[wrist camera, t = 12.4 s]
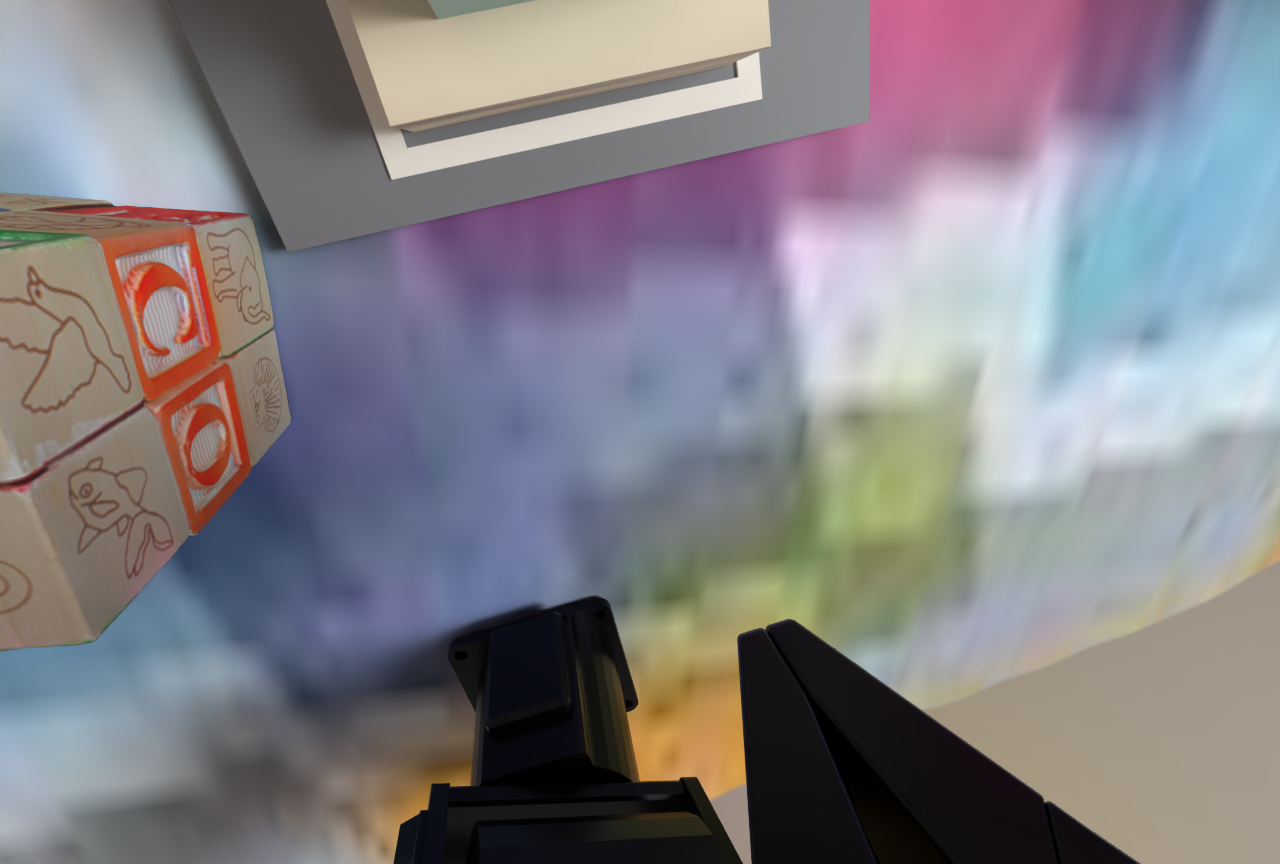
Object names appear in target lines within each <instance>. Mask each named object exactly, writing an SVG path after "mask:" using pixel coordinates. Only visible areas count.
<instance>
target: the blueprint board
mask: <svg viewBox="0 0 1280 864" xmlns="http://www.w3.org/2000/svg"><path fill="white" fill-rule="evenodd" d="M169 2H170V4H171V6H172V8H173V10H174V12H175V14H176V16H177V19H178V21H179V23H180V25H181V27H182V29H183V31H184V33H185V35H186V38H187V40H188V42H189V44H190V46H191V48H192V50H193V52H194V55H195V57H196V59H197V61H198V63H199V65H200V67H201V69H202V71H203V74H204V76H205V78H206V80H207V82H208V84H209V86H210V88H211V90H212V93H213V95H214V97H215V99H216V101H217V103H218V105H219V107H220V109H221V112H222V114H223V116H224V118H225V120H226V122H227V124H228V126H229V128H230V131H231V133H232V135H233V137H234V139H235V141H236V143H237V145H238V148H239V150H240V152H241V154H242V156H243V158H244V160H245V162H246V164H247V167H248V169H249V171H250V173H251V175H252V177H253V179H254V181H255V183H256V186H257V188H258V190H259V192H260V194H261V196H262V198H263V200H264V202H265V205H266V207H267V209H268V211H269V213H270V215H271V217H272V219H273V221H274V224H275V226H276V228H277V230H278V232H279V234H280V236H281V238H282V241H283V243H284V245H285V247H286V249H287V251H288V252H292V251H296V250H301V249H305V248H310V247H314V246H319V245H323V244H327V243H332V242H336V241H341V240H345V239H350V238H354V237H358V236H363V235H367V234H372V233H376V232H381V231H385V230H390V229H394V228H398V227H403V226H407V225H412V224H416V223H421V222H425V221H429V220H434V219H438V218H443V217H447V216H452V215H456V214H460V213H465V212H469V211H474V210H478V209H483V208H487V207H492V206H496V205H500V204H505V203H509V202H514V201H518V200H523V199H527V198H531V197H536V196H540V195H545V194H549V193H554V192H558V191H562V190H567V189H571V188H576V187H580V186H585V185H589V184H594V183H598V182H602V181H607V180H611V179H616V178H620V177H625V176H629V175H633V174H638V173H642V172H647V171H651V170H656V169H660V168H664V167H669V166H673V165H678V164H682V163H687V162H691V161H696V160H700V159H704V158H709V157H713V156H718V155H722V154H727V153H731V152H735V151H740V150H744V149H749V148H753V147H758V146H762V145H766V144H771V143H775V142H780V141H784V140H789V139H793V138H798V137H802V136H806V135H811V134H815V133H820V132H824V131H829V130H833V129H837V128H842V127H846V126H851V125H855V124H860V123H864V122H868V121H869V0H768V6H769V21H770V36H771V47H768V48H766V49H764V50H762V51H759V52H757V53H755V54H752V55H750V56H748V57H746V58H743V59H741V60H739V61H737V62H734V63H732V64H730V65H727V66H725V67H721V68H716V69H711V70H707V71H702V72H697V73H692V74H688V75H683V76H678V77H674V78H669V79H664V80H659V81H655V82H650V83H645V84H641V85H636V86H631V87H626V88H622V89H617V90H612V91H607V92H603V93H598V94H593V95H589V96H584V97H579V98H574V99H570V100H565V101H560V102H555V103H551V104H546V105H541V106H537V107H532V108H527V109H522V110H518V111H513V112H508V113H503V114H499V115H494V116H489V117H485V118H480V119H475V120H470V121H466V122H461V123H456V124H452V125H447V126H442V127H437V128H433V129H428V130H423V131H418V132H412V131H408V130H404V129H399V128H395V127H391V126H390V124H389V121H388V118H387V115H386V113H385V110H384V107H383V104H382V101H381V98H380V96H379V93H378V90H377V87H376V84H375V81H374V79H373V76H372V73H371V70H370V67H369V65H368V62H367V59H366V56H365V53H364V50H363V48H362V45H361V42H360V39H359V36H358V33H357V31H356V28H355V25H354V22H353V19H352V16H351V14H350V11H349V8H348V5H347V2H346V0H169Z"/></svg>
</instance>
